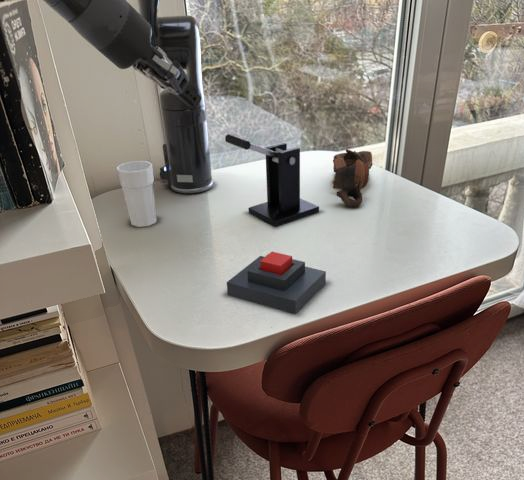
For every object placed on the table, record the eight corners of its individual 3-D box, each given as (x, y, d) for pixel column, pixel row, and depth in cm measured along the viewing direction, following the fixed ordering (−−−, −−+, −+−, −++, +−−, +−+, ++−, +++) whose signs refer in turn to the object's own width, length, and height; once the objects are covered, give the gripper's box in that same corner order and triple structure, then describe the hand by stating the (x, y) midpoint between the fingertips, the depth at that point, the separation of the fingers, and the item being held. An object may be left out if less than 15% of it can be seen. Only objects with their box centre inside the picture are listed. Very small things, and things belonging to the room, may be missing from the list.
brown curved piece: (333, 165, 114) (374, 165, 113) (333, 149, 114) (375, 149, 113) (332, 174, 129) (369, 173, 128) (333, 159, 128) (369, 159, 127)
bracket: (275, 227, 105) (273, 159, 98) (248, 213, 111) (244, 148, 104) (319, 212, 110) (320, 146, 103) (291, 199, 116) (290, 137, 109)
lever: (241, 151, 95) (246, 137, 94) (223, 144, 99) (227, 130, 98) (295, 169, 103) (300, 156, 103) (276, 161, 107) (280, 149, 107)
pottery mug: (330, 142, 106) (366, 140, 109) (310, 164, 115) (344, 161, 118) (345, 202, 106) (381, 197, 109) (324, 219, 115) (357, 214, 118)
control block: (227, 294, 86) (225, 271, 83) (260, 267, 92) (259, 245, 90) (295, 313, 80) (295, 290, 78) (325, 283, 87) (326, 260, 85)
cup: (154, 212, 113) (145, 158, 107) (165, 223, 109) (156, 167, 102) (123, 219, 111) (112, 164, 105) (133, 231, 106) (122, 174, 100)
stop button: (260, 271, 84) (259, 260, 83) (272, 261, 86) (271, 251, 85) (280, 276, 82) (280, 265, 81) (292, 266, 85) (292, 255, 84)
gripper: (144, 1, 71) (230, 88, 84) (105, -3, 80) (188, 77, 93) (114, 52, 72) (204, 131, 85) (78, 43, 81) (165, 116, 94)
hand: (196, 103), depth 89 cm, fingers closed
